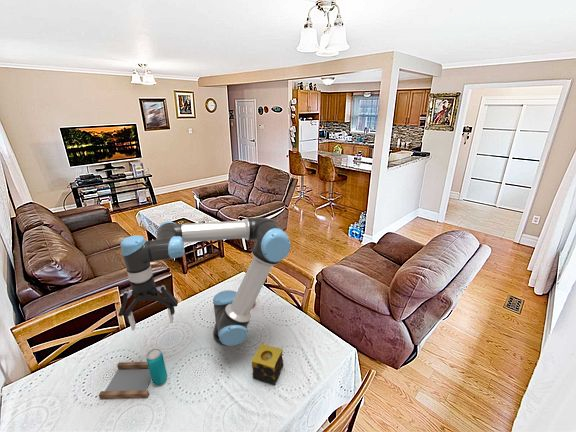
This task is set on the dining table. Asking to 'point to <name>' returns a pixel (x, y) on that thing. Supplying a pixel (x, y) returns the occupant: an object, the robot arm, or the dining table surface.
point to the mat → (130, 380)
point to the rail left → (124, 394)
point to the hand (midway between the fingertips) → (153, 324)
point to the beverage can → (156, 367)
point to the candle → (267, 364)
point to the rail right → (132, 365)
